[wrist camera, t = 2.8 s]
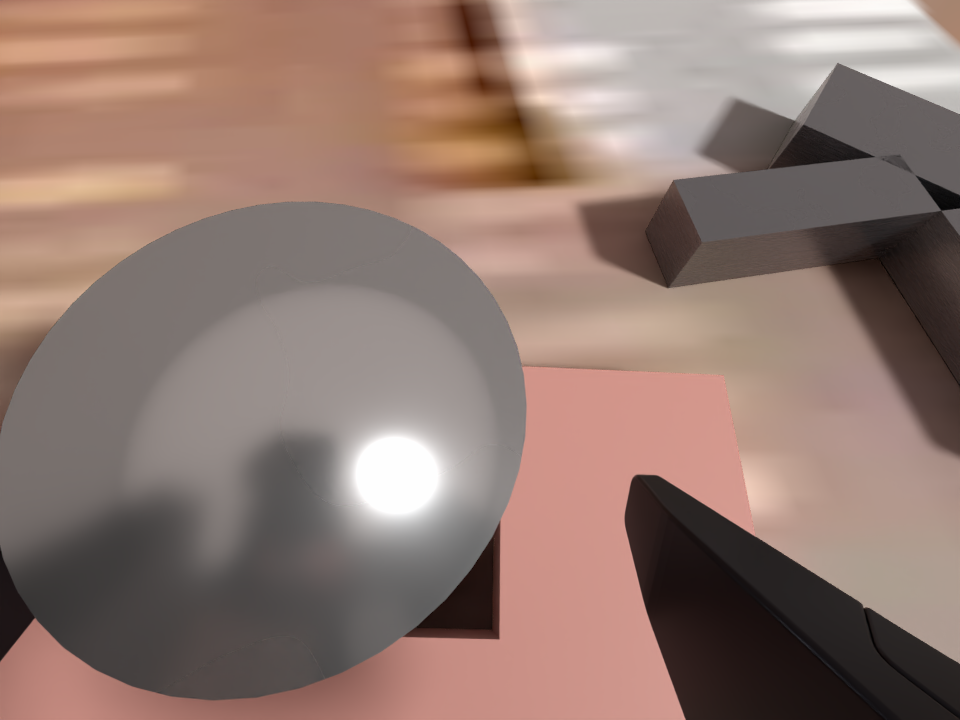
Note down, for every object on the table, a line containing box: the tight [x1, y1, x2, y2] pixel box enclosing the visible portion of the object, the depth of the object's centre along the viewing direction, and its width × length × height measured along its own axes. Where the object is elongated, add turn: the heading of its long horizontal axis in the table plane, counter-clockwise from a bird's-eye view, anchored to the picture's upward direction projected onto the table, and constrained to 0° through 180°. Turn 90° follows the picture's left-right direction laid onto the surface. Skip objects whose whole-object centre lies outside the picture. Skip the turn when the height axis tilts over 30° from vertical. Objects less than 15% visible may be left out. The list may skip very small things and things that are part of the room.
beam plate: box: [0, 366, 756, 720], centre depth 14 cm, size 20×10×2 cm, turn 88°
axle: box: [0, 202, 527, 700], centre depth 10 cm, size 4×4×13 cm
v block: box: [645, 63, 960, 384], centre depth 20 cm, size 13×18×3 cm
